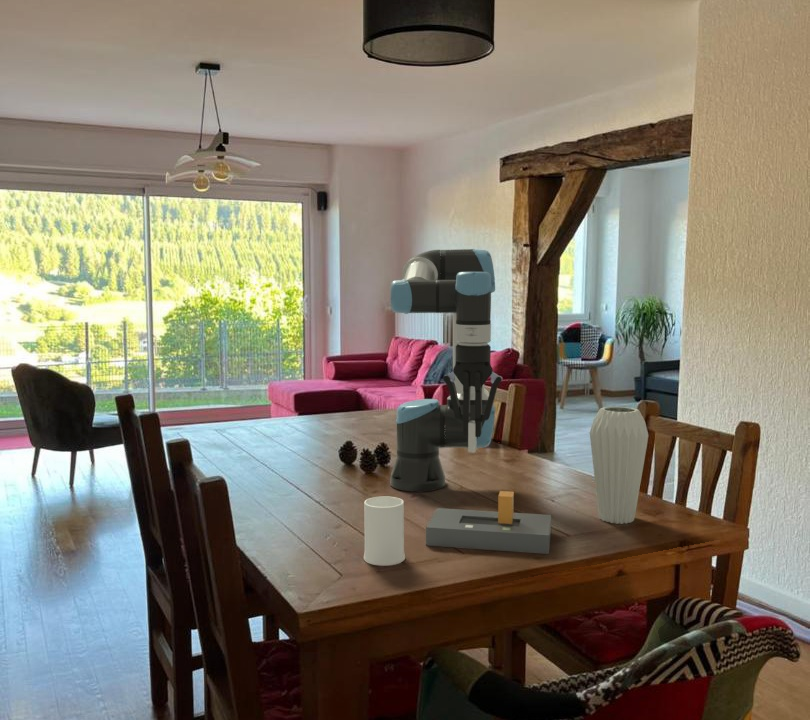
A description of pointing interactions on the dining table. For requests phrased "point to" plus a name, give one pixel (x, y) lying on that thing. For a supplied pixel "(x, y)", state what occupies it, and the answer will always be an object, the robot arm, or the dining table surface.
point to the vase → (618, 461)
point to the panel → (489, 531)
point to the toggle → (505, 507)
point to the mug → (384, 530)
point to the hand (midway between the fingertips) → (472, 450)
